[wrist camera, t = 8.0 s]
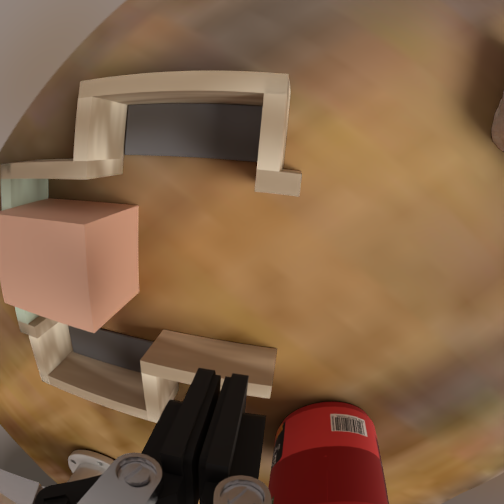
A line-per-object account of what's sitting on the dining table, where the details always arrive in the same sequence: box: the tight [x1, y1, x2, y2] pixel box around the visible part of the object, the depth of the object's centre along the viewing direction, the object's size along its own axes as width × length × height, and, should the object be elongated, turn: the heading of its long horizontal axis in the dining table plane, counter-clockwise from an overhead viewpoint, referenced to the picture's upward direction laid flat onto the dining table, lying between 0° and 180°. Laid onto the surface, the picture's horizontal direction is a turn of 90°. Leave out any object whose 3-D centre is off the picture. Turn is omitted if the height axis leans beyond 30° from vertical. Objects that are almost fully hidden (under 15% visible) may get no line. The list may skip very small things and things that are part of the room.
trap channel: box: [1, 71, 302, 423], centre depth 19 cm, size 22×19×4 cm
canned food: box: [268, 402, 389, 504], centre depth 18 cm, size 8×8×11 cm
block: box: [0, 198, 139, 333], centre depth 18 cm, size 6×8×6 cm
